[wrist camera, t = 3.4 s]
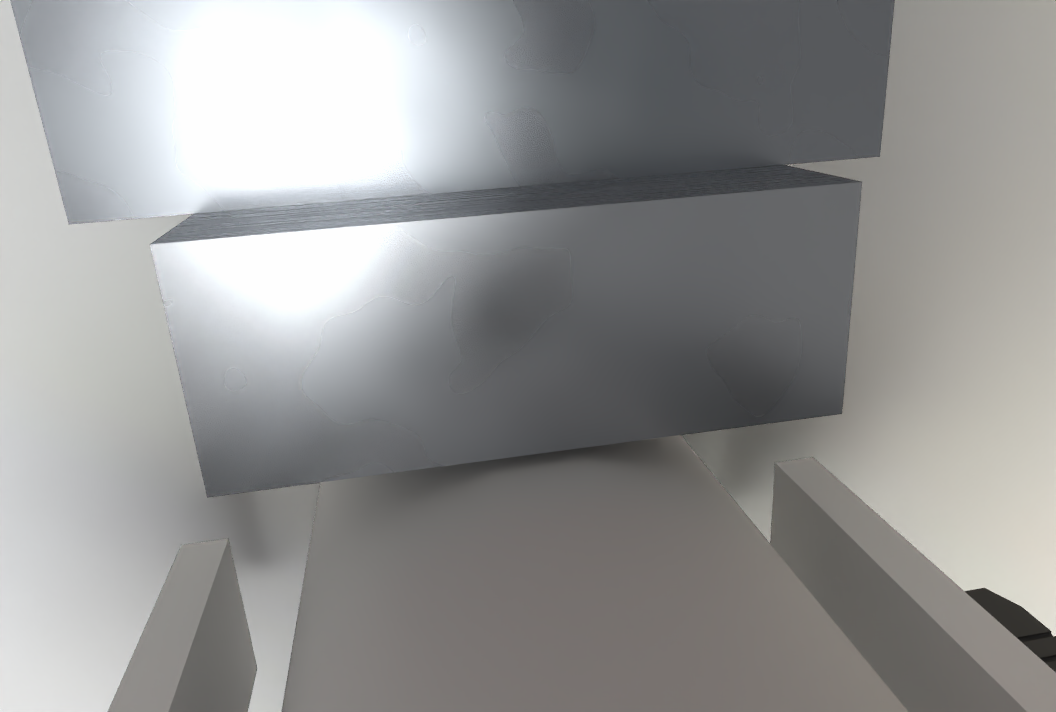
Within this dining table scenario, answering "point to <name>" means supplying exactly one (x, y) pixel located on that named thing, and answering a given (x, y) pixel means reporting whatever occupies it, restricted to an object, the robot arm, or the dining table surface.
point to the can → (561, 595)
